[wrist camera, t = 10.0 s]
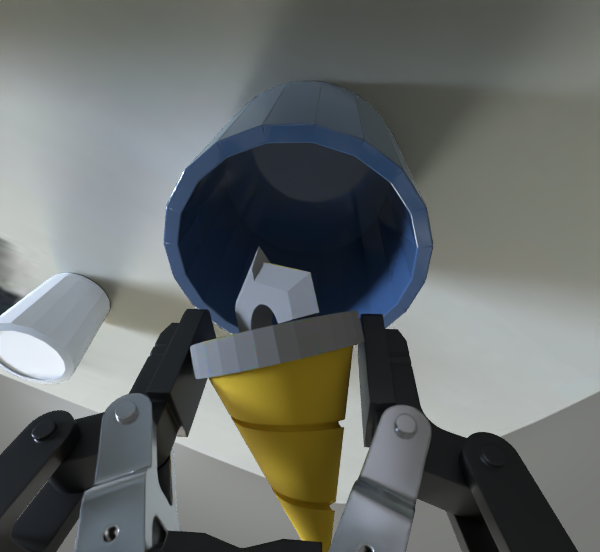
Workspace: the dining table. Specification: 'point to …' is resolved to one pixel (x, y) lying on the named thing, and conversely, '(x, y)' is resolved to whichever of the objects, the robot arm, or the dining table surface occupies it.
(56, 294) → the white cylinder
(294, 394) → the drill bit
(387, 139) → the cup
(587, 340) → the dining table surface
